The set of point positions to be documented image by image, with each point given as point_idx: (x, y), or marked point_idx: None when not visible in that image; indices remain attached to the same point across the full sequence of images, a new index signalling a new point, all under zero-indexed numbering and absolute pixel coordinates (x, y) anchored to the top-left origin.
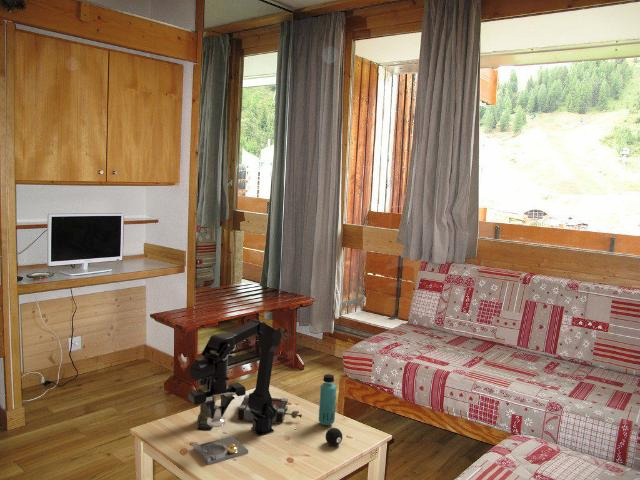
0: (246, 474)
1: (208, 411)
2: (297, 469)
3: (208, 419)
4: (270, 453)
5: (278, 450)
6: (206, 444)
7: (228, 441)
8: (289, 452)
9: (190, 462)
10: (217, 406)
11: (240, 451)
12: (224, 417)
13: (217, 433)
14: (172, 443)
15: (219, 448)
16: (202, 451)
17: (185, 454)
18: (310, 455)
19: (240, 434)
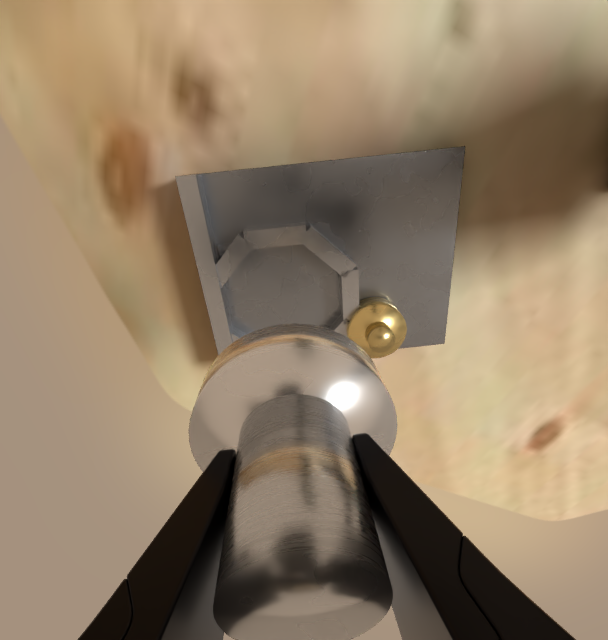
0: None
1: (165, 527)
2: (517, 487)
3: (200, 432)
4: (518, 373)
5: (564, 364)
6: (267, 189)
7: (404, 211)
8: (586, 393)
9: (152, 310)
10: (328, 585)
11: (406, 338)
12: (390, 437)
13: (407, 5)
14: (44, 13)
15: (323, 270)
16: (211, 305)
17: (132, 221)
18: None
19: (531, 111)
